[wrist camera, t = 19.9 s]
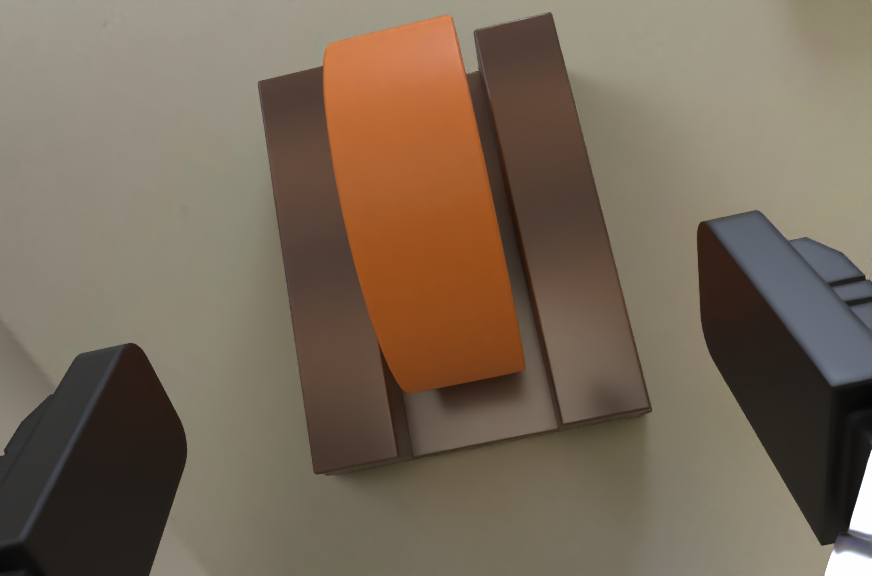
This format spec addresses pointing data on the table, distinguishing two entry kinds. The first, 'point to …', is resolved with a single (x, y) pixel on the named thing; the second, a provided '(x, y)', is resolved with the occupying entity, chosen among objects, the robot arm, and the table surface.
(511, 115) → the rack
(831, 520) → the robot arm
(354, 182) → the disc
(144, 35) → the table surface
